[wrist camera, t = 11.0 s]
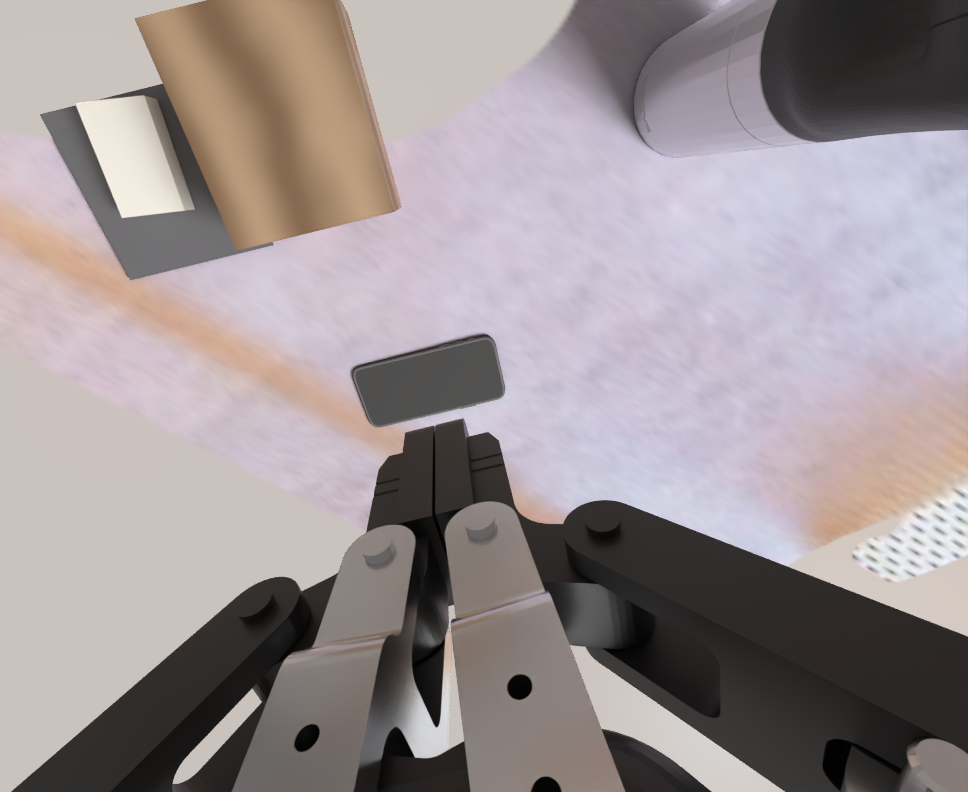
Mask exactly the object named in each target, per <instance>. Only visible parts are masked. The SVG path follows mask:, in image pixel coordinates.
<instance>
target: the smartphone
mask: <svg viewBox="0 0 968 792" xmlns="http://www.w3.org/2000/svg"><path fill="white" fill-rule="evenodd" d="M353 380H354V383H355V385H356V388H357V391H358V393H359V396H360V399H361V401H362V404H363V407H364V409H365V412H366V415H367V417H368V420H369V422H370V423H371V424H372V425H373V426H375V427H383V426H388V425H392V424H396V423H400V422H405V421H409V420H413V419H417V418H422V417H426V416H430V415H434V414H438V413H443V412H447V411H451V410H455V409H460V408H461V409H462V408H466V407H470V406H475V405H476V404H480V403H485V402H489V401H493V400H497V399H500V398H501V397H503V395H504V393H505V385H504V381H503V376H502V372H501V367H500V363H499V358H498V353H497V349H496V344H495V342H494V340H493V339H492V338H491V337H490V336H487V335H482V336H478V337H472V338H468V339H466V340H459V341H455V342H453V343H447V344H443V345H440V346H437V347H433V348H429V349H425V350H421V351H417V352H413V353H409V354H405V355H401V356H397V357H393V358H389V359H384V360H380V361H376V362H372V363H368V364H364V365H360V366H357V367H356V368H355V369H354V370H353Z"/></svg>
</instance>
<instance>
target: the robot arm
mask: <svg viewBox="0 0 968 792" xmlns="http://www.w3.org/2000/svg"><path fill="white" fill-rule="evenodd" d="M634 115H635V121H636V125H637V127H638V130H639V132H640V134H641V136H642V137H643V139H644V141H645V142H646V143H647V144H648V145H649V146H650V147H651V148H652V149H653V150H655V151H656V152H658V153H660V154H662V155H665V156H669V157H689V156H698V155H710V154H719V153H728V152H737V151H747V150H756V149H765V148H774V147H783V146H791V145H800V144H809V143H818V142H830V141H838V140H845V139H852V138H859V137H867V136H875V135H885V134H895V133H906V132H924V131H944V130H968V0H731V1H729V2H728V3H726V4H725V5H723V6H721V7H720V8H718V9H716V10H715V11H713V12H712V13H710V14H708V15H707V16H705V17H703V18H702V19H700V20H699V21H697V22H695V23H693V24H692V25H690V26H688V27H687V28H685V29H684V30H682V31H680V32H679V33H677V34H676V35H674V36H672V37H671V38H669V39H668V40H666V41H665V42H664V43H663V44H661V45H660V46H659V47H658V48H657V49H656V50H655V51H654V52H653V53H652V55H651V56H650V57H649V58H648V60H647V62H646V63H645V65H644V67H643V68H642V70H641V73H640V75H639V78H638V81H637V84H636V89H635V94H634ZM376 485H377V486H375V491H374V498H373V501H372V506H371V511H370V517H369V522H368V527H367V532H366V533H365V534H364V535H362V536H361V537H359V538H358V539H357V540H356V541H355V542H354V543H352V545H351V546H350V547H349V548H348V550H347V551H346V553H345V555H344V557H343V560H342V563H341V566H340V569H339V572H338V573H337V574H336V575H334V576H332V577H330V578H328V579H326V580H324V581H322V582H320V583H318V584H316V585H314V586H312V587H310V588H308V589H306V590H304V591H302V592H301V590H300V588H299V586H298V584H297V583H296V582H295V581H294V580H292V579H290V578H287V577H275V578H270V579H267V580H264V581H262V582H259V583H257V584H255V585H253V586H252V587H250V588H248V589H247V590H245V591H244V592H243V593H241V594H240V595H239V596H238V597H236V598H235V599H234V600H233V601H232V602H231V603H229V604H228V605H227V606H226V607H225V608H224V609H222V610H221V611H220V612H219V613H218V614H217V615H216V616H214V617H213V618H212V619H211V620H210V621H209V622H207V623H206V624H205V625H204V626H203V627H202V628H201V629H199V630H198V631H197V632H196V633H195V634H193V636H191V637H190V638H189V639H188V640H187V641H185V642H184V643H183V644H182V645H181V646H180V647H178V648H177V649H176V650H175V651H174V652H173V653H171V654H170V655H169V656H168V657H167V658H166V659H165V660H163V661H162V662H161V663H160V664H159V665H158V666H156V667H155V668H154V669H153V670H152V671H151V672H149V673H148V674H147V675H146V676H145V677H144V678H142V679H141V680H140V681H139V682H138V683H137V684H135V685H134V686H133V687H132V688H131V689H130V690H129V691H127V692H126V693H125V694H124V695H123V696H122V697H120V698H119V699H118V700H117V701H116V702H115V703H114V704H112V705H111V706H110V707H109V708H108V709H107V710H105V711H104V712H103V713H102V714H101V715H100V716H99V717H97V718H96V719H95V720H94V721H93V722H91V723H90V724H89V725H88V726H87V727H86V728H85V729H83V730H82V731H81V732H80V733H79V734H78V735H76V736H75V737H74V738H73V739H72V740H71V741H69V742H68V743H67V744H66V745H65V746H64V747H63V748H61V749H60V750H59V751H58V752H57V753H56V754H55V755H53V756H52V757H51V758H50V759H49V760H47V761H46V762H45V763H44V764H43V765H42V766H41V767H40V768H38V769H37V770H36V771H35V772H34V773H32V774H31V775H30V776H29V777H28V778H27V779H26V780H24V781H23V782H22V783H21V784H20V785H19V786H17V787H16V788H15V789H14V790H13V791H12V792H711V791H710V790H709V789H707V788H706V787H705V786H704V785H703V784H701V783H700V782H699V781H698V780H696V779H695V778H694V777H693V776H692V775H690V774H689V773H688V772H687V771H685V770H684V769H683V768H682V767H680V766H679V765H678V764H677V763H675V762H674V761H673V760H671V759H670V758H668V757H666V756H665V755H664V754H662V753H660V752H659V751H657V750H656V749H654V748H652V747H651V746H649V745H647V744H645V743H643V742H640V741H638V740H636V739H634V738H632V737H629V736H625V735H623V734H620V733H617V732H614V731H609V730H604V729H601V726H600V724H599V721H598V719H597V716H596V714H595V711H594V708H593V705H592V703H591V700H590V698H589V695H588V692H587V690H586V687H585V684H584V682H583V679H582V676H581V674H580V671H579V669H578V666H577V663H576V661H575V658H574V655H573V653H572V650H571V648H570V645H575V646H585V647H586V648H587V650H588V652H589V653H590V655H591V656H592V657H593V658H594V659H595V660H597V661H598V662H599V663H600V664H602V665H603V666H605V667H606V668H608V669H609V670H611V671H612V672H613V673H615V674H616V675H618V676H619V677H621V678H622V679H624V680H625V681H626V682H628V683H629V684H631V685H632V686H634V687H635V688H637V689H638V690H639V691H641V692H642V693H644V694H645V695H647V696H648V697H650V698H651V699H652V700H654V701H656V702H657V703H658V704H660V705H661V706H663V707H664V708H665V709H667V710H668V711H670V712H671V713H673V714H674V715H675V716H677V717H678V718H680V719H681V720H683V721H684V722H686V723H687V724H688V725H690V726H691V727H693V728H694V729H696V730H697V731H699V732H700V733H702V734H703V735H704V736H706V737H707V738H709V739H710V740H712V741H713V742H714V743H716V744H717V745H719V746H720V747H722V748H723V749H725V750H726V751H728V752H729V753H730V754H732V755H733V756H735V757H736V758H738V759H739V760H740V761H742V762H743V763H745V764H746V765H748V766H749V767H750V768H752V769H753V770H755V771H756V772H758V773H759V774H761V775H762V776H764V777H765V778H766V779H768V780H769V781H771V782H772V783H774V784H775V785H776V786H778V787H779V788H781V789H782V790H784V791H785V792H968V637H967V636H965V635H962V634H960V633H957V632H955V631H952V630H949V629H947V628H944V627H941V626H939V625H936V624H934V623H931V622H929V621H926V620H924V619H921V618H918V617H916V616H913V615H911V614H908V613H906V612H903V611H900V610H898V609H895V608H893V607H890V606H887V605H885V604H882V603H880V602H877V601H875V600H872V599H869V598H867V597H864V596H862V595H859V594H856V593H854V592H851V591H849V590H846V589H843V588H841V587H838V586H836V585H833V584H831V583H828V582H825V581H823V580H820V579H818V578H815V577H813V576H810V575H807V574H805V573H802V572H800V571H797V570H795V569H792V568H789V567H787V566H784V565H782V564H779V563H777V562H774V561H771V560H769V559H766V558H764V557H761V556H758V555H756V554H753V553H751V552H748V551H746V550H743V549H740V548H738V547H735V546H733V545H730V544H727V543H725V542H722V541H720V540H717V539H715V538H712V537H709V536H707V535H704V534H702V533H699V532H697V531H694V530H691V529H689V528H686V527H684V526H681V525H678V524H676V523H673V522H671V521H668V520H666V519H663V518H660V517H658V516H655V515H653V514H650V513H648V512H645V511H642V510H640V509H637V508H635V507H632V506H629V505H627V504H624V503H621V502H617V501H609V500H602V501H593V502H589V503H586V504H584V505H581V506H579V507H577V508H576V509H574V510H573V511H572V512H571V513H570V514H569V515H568V516H567V518H566V519H565V521H564V524H543V523H537V522H534V521H531V520H529V519H527V518H525V517H524V516H522V515H521V514H520V513H519V512H518V510H517V509H516V507H515V505H514V501H513V497H512V493H511V489H510V485H509V480H508V476H507V472H506V468H505V464H504V460H503V456H502V452H501V448H500V444H499V440H497V439H496V438H495V437H494V436H492V435H491V434H490V433H488V432H486V433H482V434H478V435H474V436H470V437H469V434H468V431H467V427H466V424H465V421H464V418H463V419H459V420H454V421H450V422H446V423H442V424H438V425H436V426H435V427H434V426H430V427H426V428H422V429H418V430H414V431H410V432H406V433H405V439H404V447H403V453H400V454H396V455H392V456H389V457H388V458H387V460H386V461H385V462H384V464H383V465H382V466H381V468H380V469H379V471H378V476H377V481H376ZM450 605H454V607H455V615H456V619H453V620H452V621H451V632H450V630H449V627H448V624H449V618H448V617H449V616H448V606H450ZM451 634H452V636H451ZM452 643H453V651H454V659H455V668H456V676H457V684H458V692H459V700H460V708H461V717H462V725H463V733H464V742H462V743H460V744H458V745H456V746H455V747H453V748H451V749H449V743H448V730H449V729H448V728H449V707H450V684H451V661H452ZM252 688H253V690H254V691H255V693H256V694H257V696H258V697H259V698H260V700H261V701H262V703H261V704H260V705H259V706H258V707H257V708H256V709H255V711H254V712H253V713H252V714H251V715H250V716H249V717H248V718H247V719H246V720H245V722H243V724H242V725H241V726H240V727H239V728H238V729H237V730H236V731H235V732H234V733H233V735H232V736H231V737H230V738H229V739H228V740H227V741H226V742H225V743H224V744H223V745H222V746H221V748H220V749H219V750H218V751H217V752H216V753H215V754H214V755H213V756H212V757H211V759H209V761H208V762H207V763H206V764H205V765H204V766H203V767H202V768H201V769H200V770H199V771H198V772H197V773H196V774H195V775H194V776H193V777H192V778H190V779H188V780H187V781H185V782H182V783H180V784H172V783H173V779H174V776H175V773H176V771H177V769H178V768H179V766H180V764H181V763H182V762H183V760H184V759H185V758H186V757H187V756H188V755H189V753H190V752H191V751H192V750H193V749H194V748H195V747H196V746H197V745H198V744H199V743H200V742H201V741H202V740H203V739H204V738H205V737H206V736H207V735H208V734H209V733H210V732H211V731H212V729H213V728H214V727H215V726H216V725H217V724H218V723H219V722H220V721H221V720H222V719H223V718H224V717H225V716H226V715H227V714H228V713H229V712H230V711H231V710H232V709H233V708H234V706H235V705H236V704H237V703H238V702H239V701H240V700H241V699H242V698H243V697H244V696H245V695H246V694H247V693H248V692H249V691H250V690H251V689H252Z"/></svg>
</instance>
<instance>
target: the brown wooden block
mask: <svg viewBox="0 0 968 792" xmlns="http://www.w3.org/2000/svg"><path fill="white" fill-rule="evenodd" d="M135 20H136V23H137V25H138V27H139V30H140V32H141V34H142V36H143V39H144V41H145V43H146V46H147V48H148V50H149V52H150V55H151V57H152V59H153V62H154V64H155V66H156V68H157V71H158V73H159V75H160V78H161V80H162V82H163V85H164V87H165V89H166V91H167V94H168V96H169V98H170V101H171V103H172V105H173V107H174V110H175V112H176V114H177V117H178V119H179V121H180V123H181V126H182V128H183V130H184V133H185V135H186V137H187V139H188V142H189V144H190V146H191V149H192V151H193V153H194V155H195V158H196V160H197V162H198V165H199V167H200V169H201V171H202V174H203V176H204V178H205V181H206V183H207V185H208V187H209V190H210V192H211V194H212V197H213V199H214V201H215V203H216V206H217V208H218V210H219V213H220V215H221V217H222V219H223V222H224V224H225V226H226V229H227V231H228V233H229V235H230V238H231V240H232V242H233V245H234V247H235V249H236V251H238V250H242V249H246V248H250V247H254V246H258V245H262V244H266V243H270V242H274V241H278V240H282V239H286V238H290V237H294V236H298V235H302V234H306V233H310V232H315V231H319V230H323V229H327V228H331V227H335V226H339V225H343V224H347V223H351V222H355V221H359V220H363V219H367V218H371V217H375V216H379V215H383V214H387V213H391V212H395V211H396V210H398V209H399V208H401V203H400V200H399V196H398V192H397V189H396V185H395V182H394V178H393V175H392V171H391V167H390V164H389V160H388V157H387V153H386V149H385V146H384V142H383V139H382V135H381V132H380V128H379V124H378V121H377V117H376V113H375V110H374V106H373V103H372V99H371V95H370V92H369V88H368V85H367V81H366V77H365V74H364V70H363V67H362V63H361V60H360V56H359V52H358V49H357V45H356V41H355V38H354V34H353V31H352V27H351V24H350V20H349V17H348V13H347V11H346V9H345V7H344V6H343V4H342V2H341V0H207V1H203V2H199V3H195V4H191V5H187V6H183V7H179V8H175V9H171V10H167V11H163V12H159V13H155V14H151V15H147V16H143V17H139V18H135Z"/></svg>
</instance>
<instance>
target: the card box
mask: <svg viewBox="0 0 968 792" xmlns="http://www.w3.org/2000/svg"><path fill="white" fill-rule="evenodd" d="M75 105H76V107H77V109H78V112H79V114H80V117H81V119H82V122H83V124H84V127H85V129H86V131H87V134H88V136H89V139H90V141H91V144H92V146H93V149H94V151H95V153H96V156H97V158H98V161H99V163H100V166H101V168H102V171H103V173H104V176H105V178H106V180H107V183H108V185H109V188H110V190H111V193H112V195H113V198H114V200H115V202H116V205H117V207H118V210H119V212H120V215H121V217H122V218H127V217H136V216H144V215H153V214H161V213H170V212H178V211H187V210H195V208H194V205H193V202H192V199H191V196H190V193H189V190H188V188H187V185H186V182H185V179H184V176H183V173H182V170H181V167H180V164H179V161H178V158H177V156H176V153H175V150H174V147H173V144H172V141H171V138H170V135H169V132H168V129H167V126H166V124H165V121H164V118H163V115H162V112H161V109H160V106H159V103H158V100H157V99H155V98H151V97H148V96H145V95H142V96H132V97H123V98H114V99H105V100H96V101H86V102H77V103H75Z"/></svg>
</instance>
